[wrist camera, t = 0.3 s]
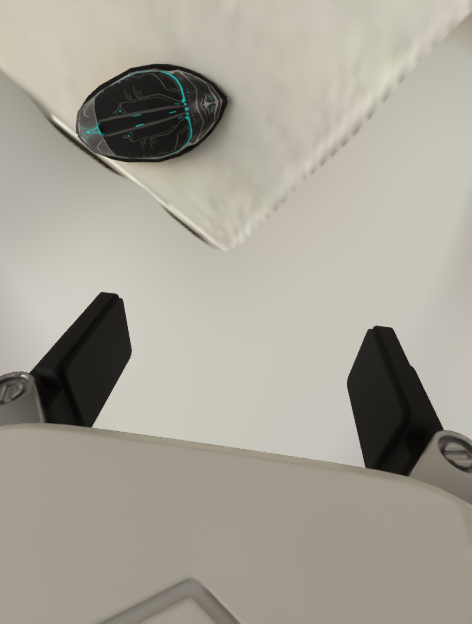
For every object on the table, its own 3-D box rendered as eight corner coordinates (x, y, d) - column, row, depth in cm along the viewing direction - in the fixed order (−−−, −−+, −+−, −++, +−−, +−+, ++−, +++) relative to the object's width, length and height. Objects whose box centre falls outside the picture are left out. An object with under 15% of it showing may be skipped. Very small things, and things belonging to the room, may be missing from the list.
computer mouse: (236, 144, 35) (229, 153, 31) (104, 171, 39) (80, 183, 34) (219, 46, 30) (208, 39, 26) (70, 87, 34) (36, 87, 29)
